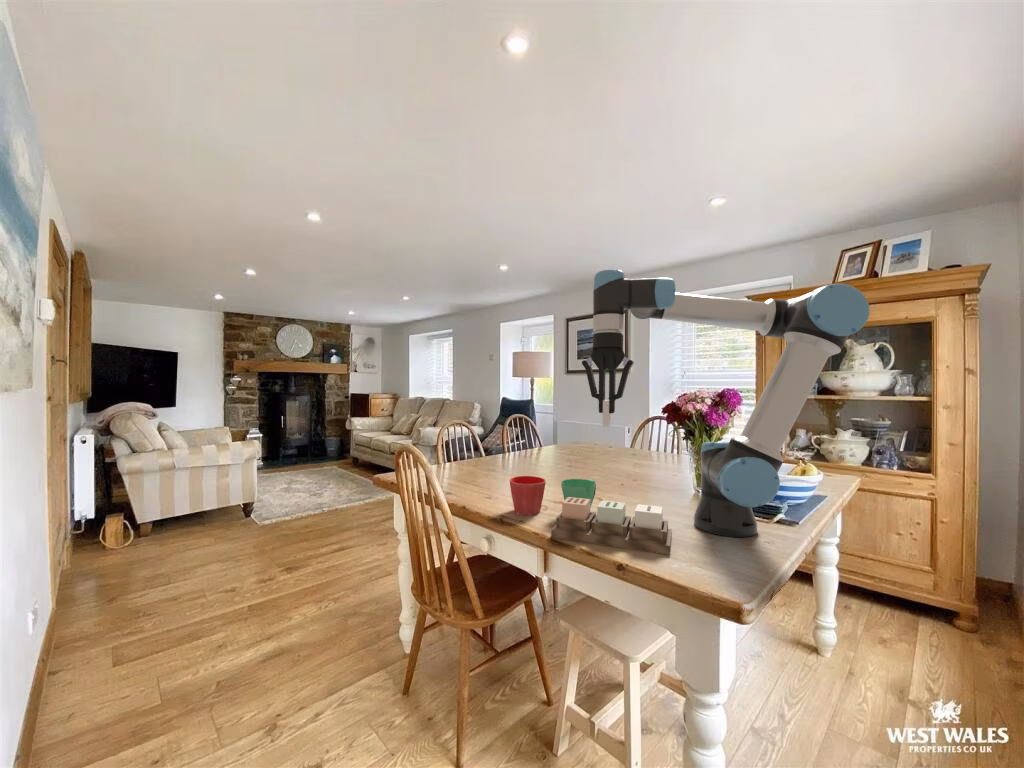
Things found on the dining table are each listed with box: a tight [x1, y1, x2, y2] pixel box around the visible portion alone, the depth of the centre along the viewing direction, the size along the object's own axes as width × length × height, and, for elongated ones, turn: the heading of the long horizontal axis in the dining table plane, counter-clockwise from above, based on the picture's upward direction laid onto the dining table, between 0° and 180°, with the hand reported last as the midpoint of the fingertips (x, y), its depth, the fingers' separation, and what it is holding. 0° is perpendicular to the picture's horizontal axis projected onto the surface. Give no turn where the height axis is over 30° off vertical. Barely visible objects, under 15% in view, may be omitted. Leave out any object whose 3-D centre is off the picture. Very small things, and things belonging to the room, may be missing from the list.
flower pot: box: [509, 475, 547, 516], centre depth 127 cm, size 11×11×10 cm
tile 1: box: [634, 503, 664, 530], centre depth 103 cm, size 6×6×4 cm
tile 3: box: [561, 497, 591, 521], centre depth 109 cm, size 6×6×4 cm
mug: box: [560, 478, 597, 509], centre depth 124 cm, size 15×10×10 cm
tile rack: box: [550, 511, 673, 556], centre depth 106 cm, size 28×12×4 cm, turn 68°
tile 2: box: [596, 500, 626, 525], centre depth 106 cm, size 6×6×4 cm
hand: (606, 426), depth 106 cm, fingers closed
